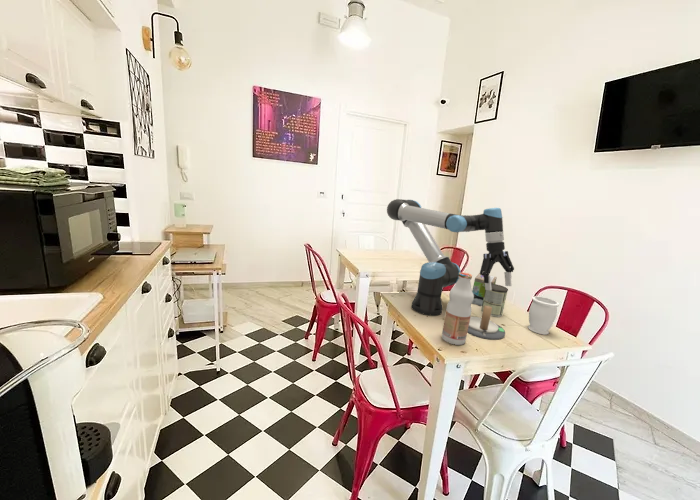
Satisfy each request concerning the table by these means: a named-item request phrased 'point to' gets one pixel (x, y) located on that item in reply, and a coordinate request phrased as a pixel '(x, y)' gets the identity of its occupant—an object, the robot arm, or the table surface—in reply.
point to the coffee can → (495, 299)
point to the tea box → (480, 289)
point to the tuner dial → (484, 322)
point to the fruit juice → (458, 311)
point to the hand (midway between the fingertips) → (498, 288)
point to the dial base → (488, 334)
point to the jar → (542, 314)
